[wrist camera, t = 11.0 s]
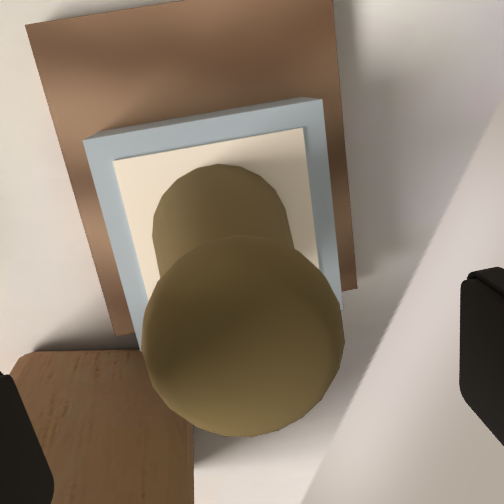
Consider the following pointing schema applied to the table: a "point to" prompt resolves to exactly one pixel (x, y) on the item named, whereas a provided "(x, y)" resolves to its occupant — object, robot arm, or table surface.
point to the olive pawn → (236, 308)
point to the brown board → (186, 90)
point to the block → (106, 428)
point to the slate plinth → (205, 154)
